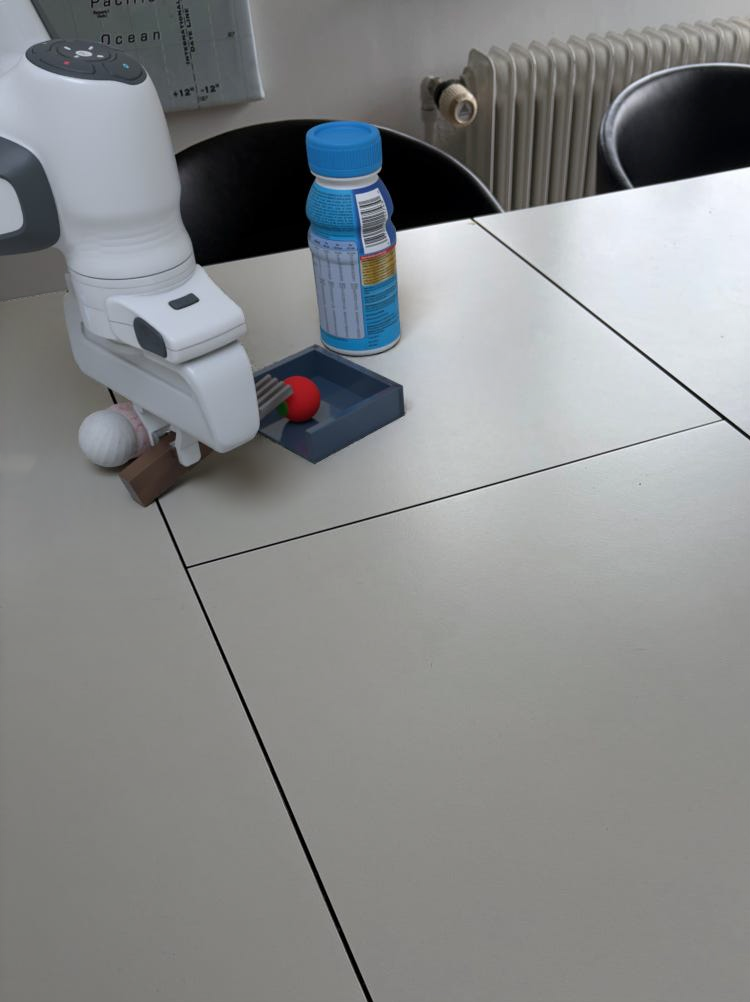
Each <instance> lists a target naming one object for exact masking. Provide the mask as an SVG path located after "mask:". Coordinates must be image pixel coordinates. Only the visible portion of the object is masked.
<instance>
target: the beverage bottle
mask: <svg viewBox="0 0 750 1002" xmlns="http://www.w3.org/2000/svg"><path fill="white" fill-rule="evenodd" d="M305 146H306V147H305V149H306V157H307V162H308V168H309V170H310V173H311V174H312V176H314V177H315V179H314V180H313V183H312V184H311V187H310V190H309V192H308V195H307V198H306V204H305V214H306V217H307V219H308V220H309V222H310V225H309V228H308V231H307V244H308V249H309V251H310V253H311V261H312V268H313V276H314V278H313V279H314V284H315V285H314V286H315V292H316V300H317V302H316V303H317V308H318V318H319V333H320V338H321V342H322V343H323V344H324V345H325V346H326V347H327V348H328V350H330V351H332V352H334V353H337V354H341V355H345V356H358V357H359V356H369V355H375V354H379V353H382V352H384V351H387V350H389V349H390V348H392V347H393V346H395V345H396V344H397V343H398V342H399V340H400V338H401V332H402V329H401V320H400V305H399V287H398V267H397V251H396V249H397V248H396V245H397V241H398V240H397V239H398V238H397V230H396V227H395V225H394V223H393V221H392V220H391V217H392V216H393V214H394V204H393V200H392V197H391V195H390V193H389V190H388V188H387V187H386V185H385V184H384V182H383V180H382V179H381V177H380V176H379V175H378V174H379V173H380V172H381V170H382V165H383V148H382V137H381V133H380V130H379V129H378V128H377V127H376V126H375V125H373V124H370V123H367V122H362V121H354V120H339V121H338V120H337V121H329V122H325V123H321V124H318V125H315V126H313V127H311V128H310V129H309V130H307V132H306V134H305Z"/></svg>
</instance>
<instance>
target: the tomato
mask: <svg viewBox="0 0 750 1002" xmlns="http://www.w3.org/2000/svg"><path fill="white" fill-rule="evenodd" d="M283 382H284V383H285V386H286V385H288V384H289V385H291V387H292V390H293V393H292V394H291V395H290V396H289V397H288V398H286V399H285V400H284V401H283V402H281V403H280V404H279V405H278V406H277V407H275V409H276V411H277V412H278V414H279V415H280V416H282V417H286V418H287V419H289V420H292V421H296V422H302V421H306V420H309V419H310V418H312V417H313V416H314V415H315V414H316V413H317V411H318V409H319V407H320V403H321V397H320V392H319V390H318V388H317V386H316V385H315V384H314V383H313V382H312V381H311V380H309V379H307V378H305V377H302V376H293V377H289V378H287V379H285V380H284V381H283Z"/></svg>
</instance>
